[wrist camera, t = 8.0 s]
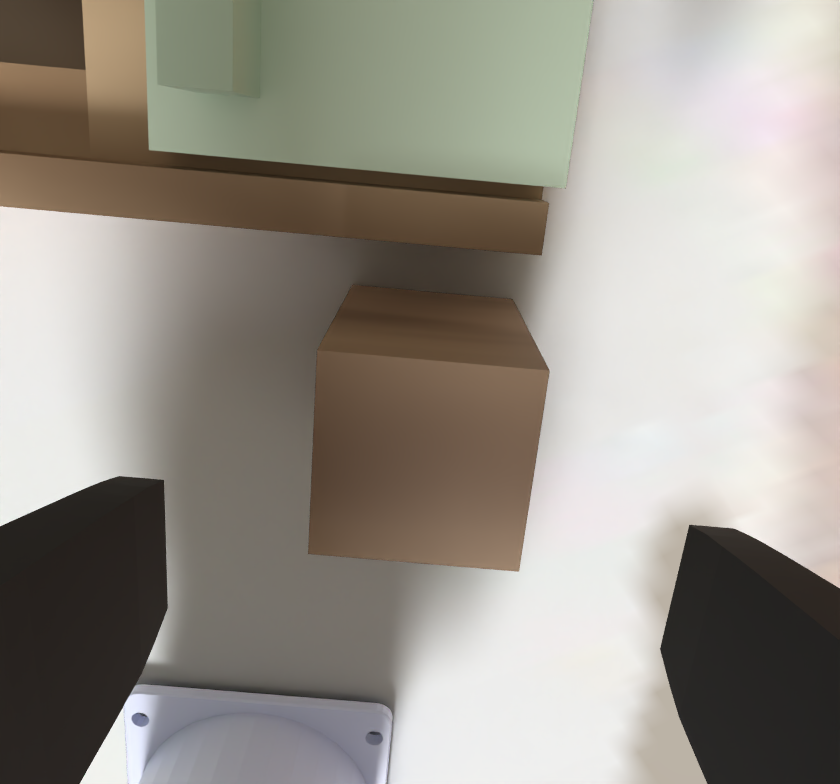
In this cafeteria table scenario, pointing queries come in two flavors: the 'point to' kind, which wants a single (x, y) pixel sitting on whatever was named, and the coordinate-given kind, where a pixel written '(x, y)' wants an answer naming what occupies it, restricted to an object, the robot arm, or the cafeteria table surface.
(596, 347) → the cafeteria table surface
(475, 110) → the cover
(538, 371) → the block
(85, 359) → the cafeteria table surface
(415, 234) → the tan wooden frame
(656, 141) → the cafeteria table surface
